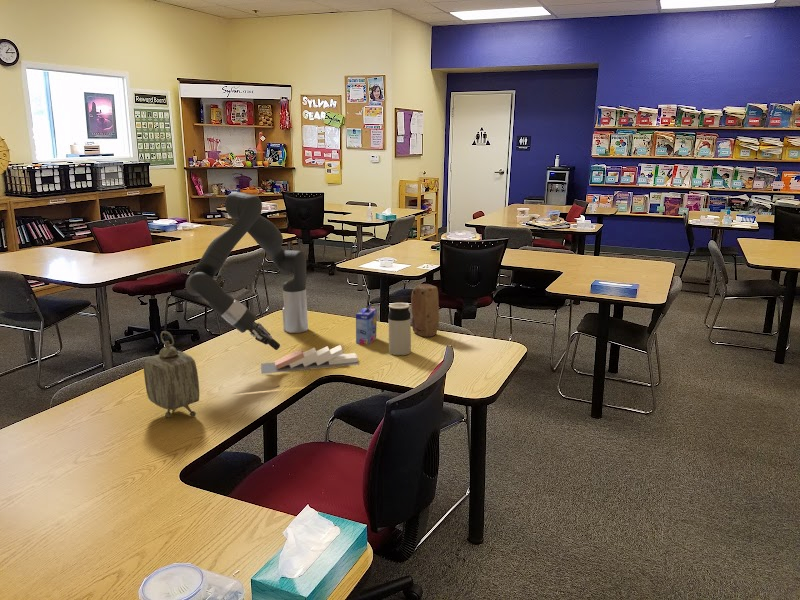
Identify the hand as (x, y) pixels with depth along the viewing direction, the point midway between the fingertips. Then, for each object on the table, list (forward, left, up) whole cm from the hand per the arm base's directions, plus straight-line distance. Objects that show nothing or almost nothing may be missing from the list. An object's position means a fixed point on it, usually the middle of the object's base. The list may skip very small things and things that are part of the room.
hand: (278, 347), depth 212 cm
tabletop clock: (-3, -44, -8) cm, 44 cm away
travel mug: (+29, +32, -8) cm, 44 cm away
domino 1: (-1, -1, -6) cm, 6 cm away
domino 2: (+3, +2, -6) cm, 7 cm away
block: (+27, +56, -8) cm, 63 cm away
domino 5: (+12, +11, -6) cm, 18 cm away
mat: (+8, +7, -7) cm, 13 cm away
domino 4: (+9, +8, -6) cm, 14 cm away
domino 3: (+6, +5, -6) cm, 10 cm away
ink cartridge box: (+11, +38, -8) cm, 41 cm away
